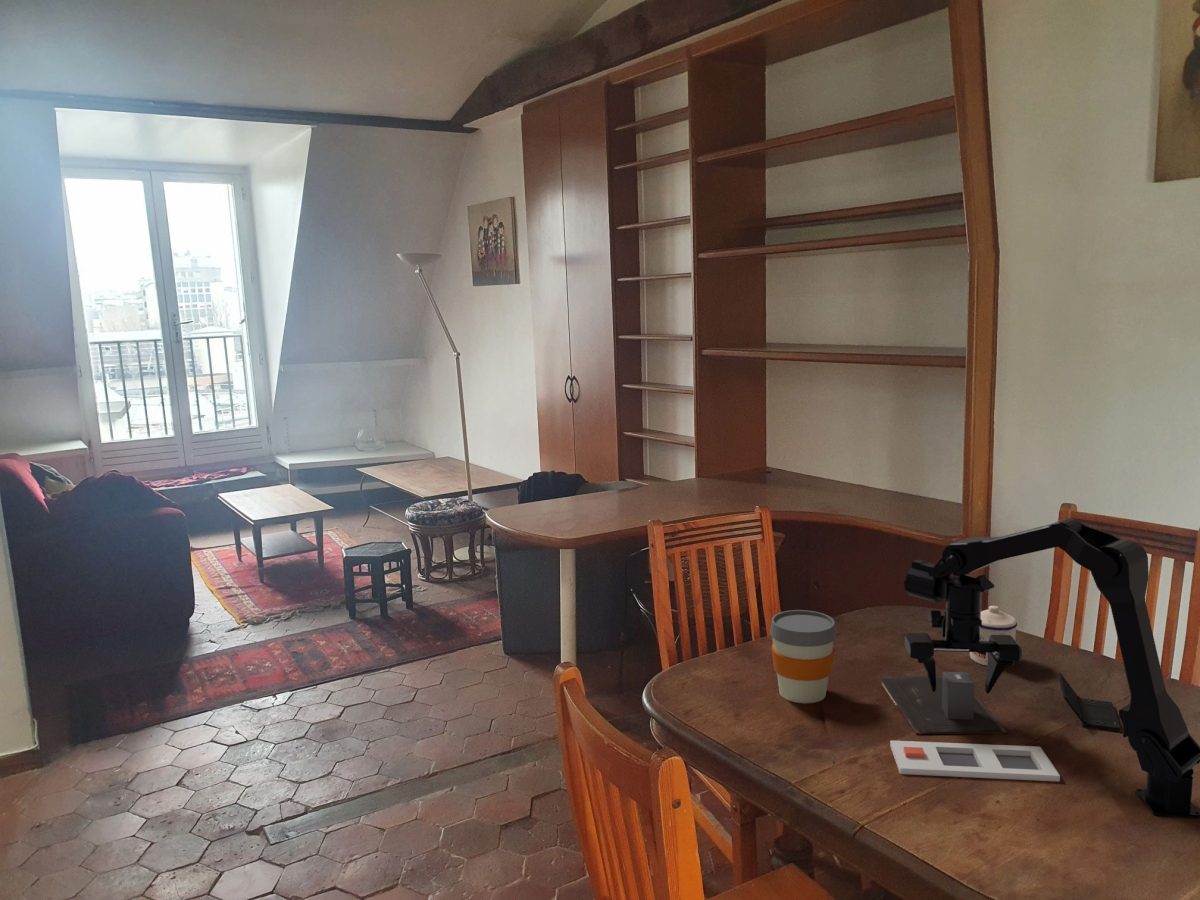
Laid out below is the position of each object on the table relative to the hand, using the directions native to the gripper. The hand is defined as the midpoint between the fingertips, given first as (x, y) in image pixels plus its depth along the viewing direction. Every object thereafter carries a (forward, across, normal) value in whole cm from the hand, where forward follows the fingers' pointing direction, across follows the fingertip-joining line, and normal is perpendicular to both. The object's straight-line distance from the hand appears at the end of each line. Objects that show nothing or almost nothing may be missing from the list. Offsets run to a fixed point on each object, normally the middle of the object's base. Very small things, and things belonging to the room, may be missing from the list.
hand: (960, 691), depth 156 cm
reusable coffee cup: (+6, +27, -10) cm, 29 cm away
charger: (+4, 0, 0) cm, 5 cm away
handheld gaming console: (+6, -24, -5) cm, 25 cm away
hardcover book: (+7, +2, -5) cm, 9 cm away
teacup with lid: (+6, -14, -28) cm, 32 cm away
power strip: (+6, +7, +16) cm, 18 cm away
